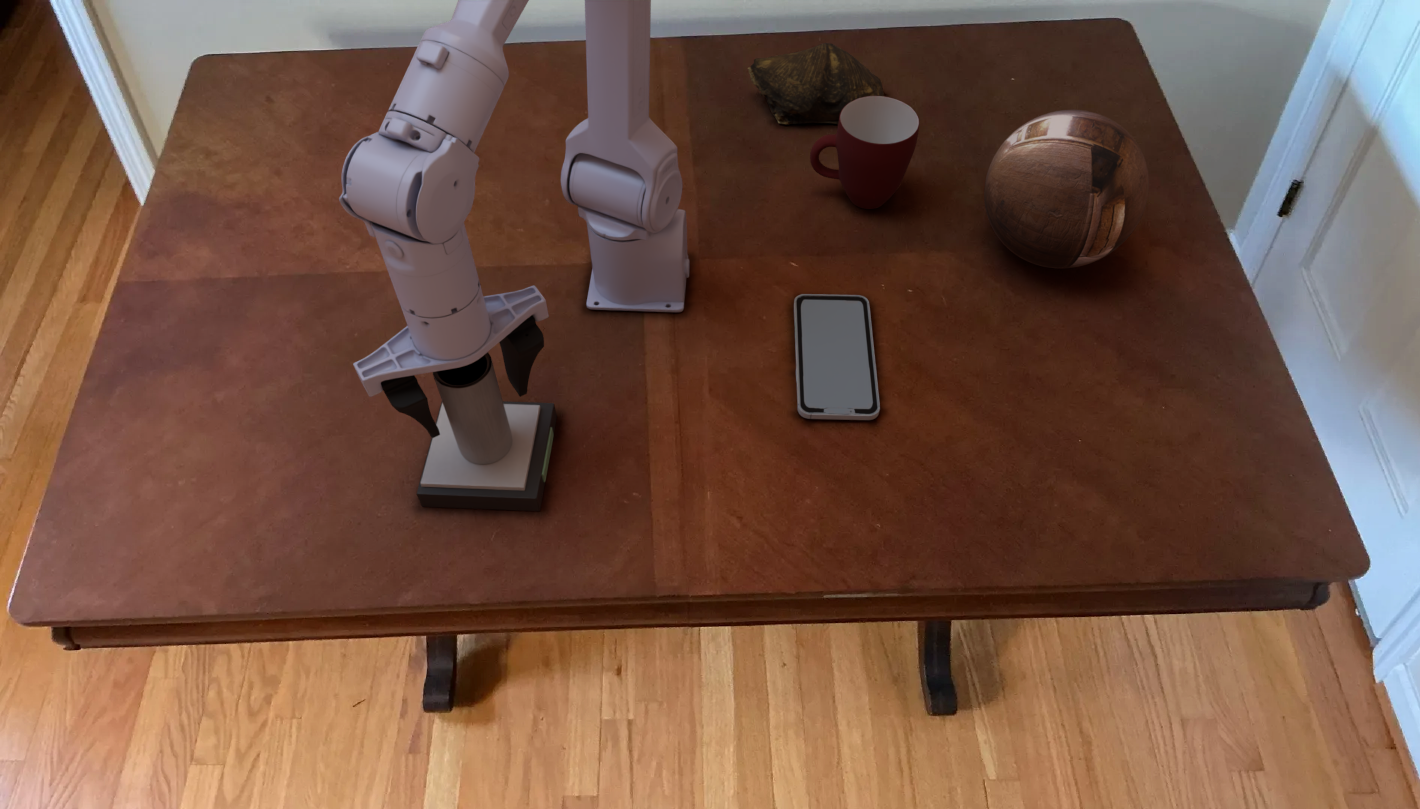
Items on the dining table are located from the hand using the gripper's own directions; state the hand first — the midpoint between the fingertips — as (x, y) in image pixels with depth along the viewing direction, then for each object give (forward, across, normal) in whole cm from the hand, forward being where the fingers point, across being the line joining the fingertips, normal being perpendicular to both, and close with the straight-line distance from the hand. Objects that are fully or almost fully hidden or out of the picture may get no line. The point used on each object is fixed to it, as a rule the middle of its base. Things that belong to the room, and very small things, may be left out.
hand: (475, 407), depth 81 cm
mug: (+8, -48, -10) cm, 49 cm away
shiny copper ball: (+8, -59, +7) cm, 60 cm away
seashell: (+8, -54, -25) cm, 60 cm away
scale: (+7, 0, 0) cm, 7 cm away
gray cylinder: (+5, 0, 0) cm, 5 cm away
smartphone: (+8, -32, +7) cm, 34 cm away
